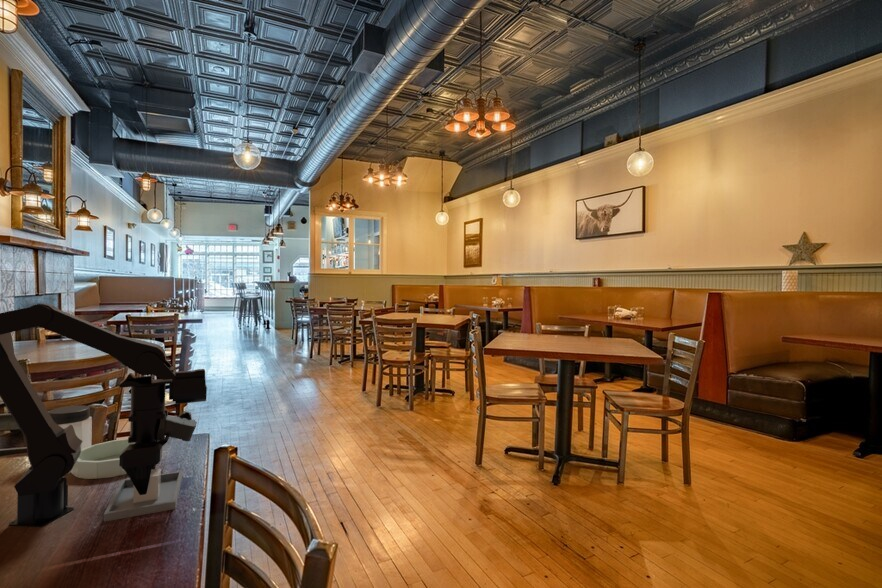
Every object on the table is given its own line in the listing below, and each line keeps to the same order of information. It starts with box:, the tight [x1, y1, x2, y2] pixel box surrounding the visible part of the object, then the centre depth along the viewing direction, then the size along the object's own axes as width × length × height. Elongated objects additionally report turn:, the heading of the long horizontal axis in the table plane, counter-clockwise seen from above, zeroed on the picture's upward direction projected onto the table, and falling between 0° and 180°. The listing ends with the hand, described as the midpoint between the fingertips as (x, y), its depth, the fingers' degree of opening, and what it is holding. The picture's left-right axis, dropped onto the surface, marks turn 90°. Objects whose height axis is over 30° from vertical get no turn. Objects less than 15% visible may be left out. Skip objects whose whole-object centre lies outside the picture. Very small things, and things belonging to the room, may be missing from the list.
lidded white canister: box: [47, 405, 93, 450], centre depth 108 cm, size 9×8×12 cm
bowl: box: [70, 438, 135, 480], centre depth 104 cm, size 16×16×4 cm
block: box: [133, 468, 162, 503], centre depth 87 cm, size 4×4×5 cm
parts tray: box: [103, 470, 184, 523], centre depth 87 cm, size 16×11×2 cm
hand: (146, 484), depth 87 cm, fingers open, 9 cm apart
